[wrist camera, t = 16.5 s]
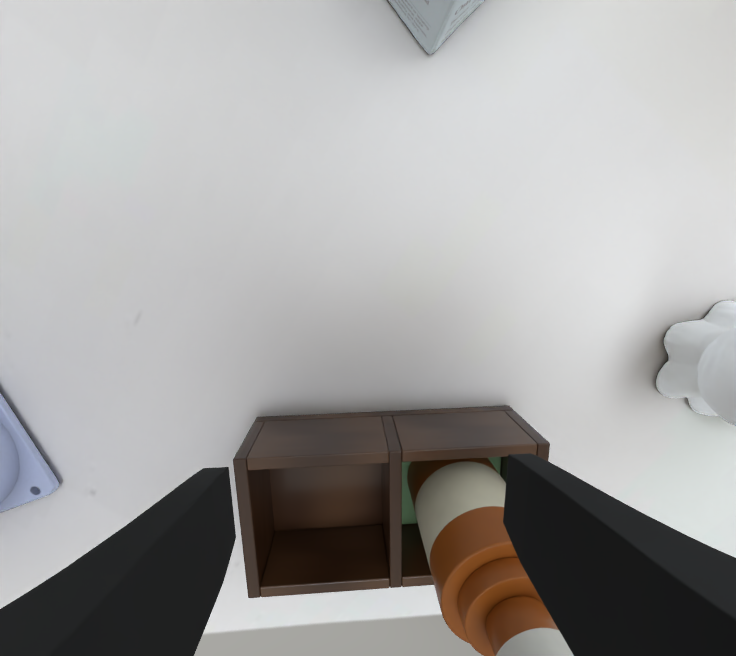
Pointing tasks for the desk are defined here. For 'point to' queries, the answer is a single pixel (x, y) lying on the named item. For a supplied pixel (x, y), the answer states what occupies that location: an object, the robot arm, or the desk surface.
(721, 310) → the rabbit
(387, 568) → the wooden compartment tray
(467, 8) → the white packaging box
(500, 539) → the amber bottle
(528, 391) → the desk surface
